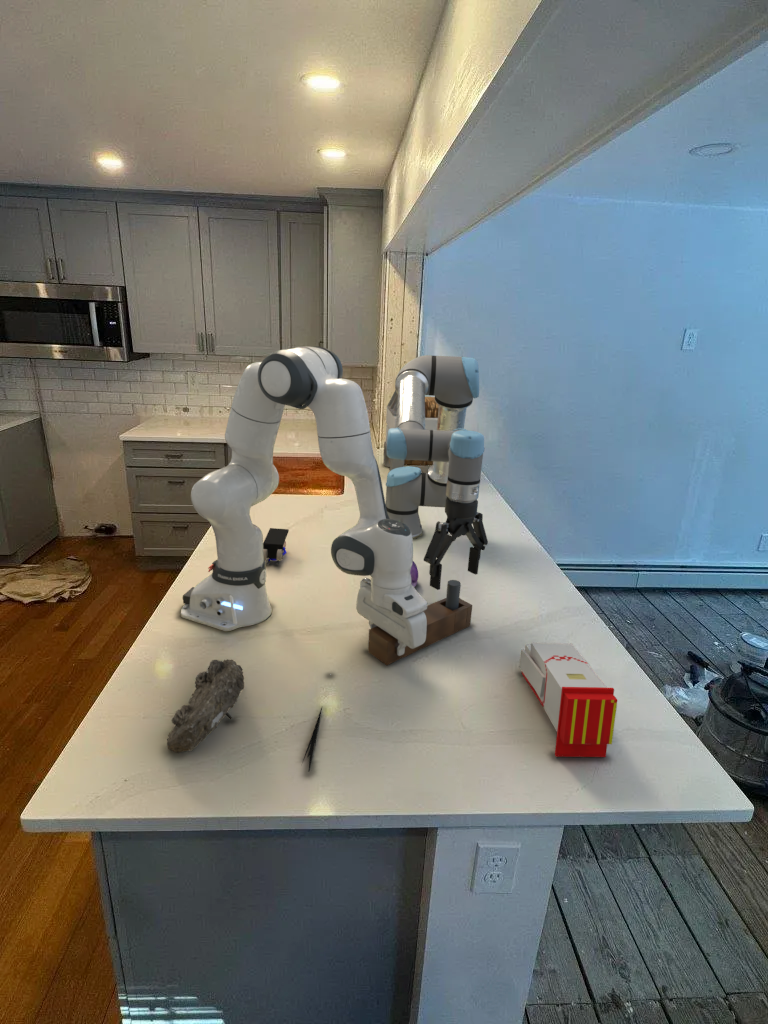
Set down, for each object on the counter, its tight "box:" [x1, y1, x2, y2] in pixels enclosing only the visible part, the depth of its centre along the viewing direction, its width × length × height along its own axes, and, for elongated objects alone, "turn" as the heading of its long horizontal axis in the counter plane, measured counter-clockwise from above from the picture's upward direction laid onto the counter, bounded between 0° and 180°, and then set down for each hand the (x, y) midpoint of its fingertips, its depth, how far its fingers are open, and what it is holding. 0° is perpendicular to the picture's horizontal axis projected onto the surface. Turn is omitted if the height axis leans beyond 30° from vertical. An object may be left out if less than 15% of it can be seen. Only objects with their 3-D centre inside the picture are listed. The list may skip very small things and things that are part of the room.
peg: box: [445, 579, 462, 611], centre depth 141 cm, size 3×3×12 cm
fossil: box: [166, 658, 245, 754], centre depth 106 cm, size 22×10×15 cm
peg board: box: [367, 597, 473, 666], centre depth 136 cm, size 28×7×6 cm, turn 131°
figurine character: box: [263, 527, 290, 566], centre depth 175 cm, size 7×8×15 cm
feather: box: [301, 673, 332, 771], centre depth 108 cm, size 2×28×2 cm
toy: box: [518, 642, 618, 758], centre depth 113 cm, size 12×13×30 cm
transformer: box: [383, 390, 439, 472], centre depth 268 cm, size 34×33×41 cm
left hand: (387, 645), depth 130 cm, fingers closed on peg board, 6 cm apart
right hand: (454, 579), depth 139 cm, fingers open, 13 cm apart
